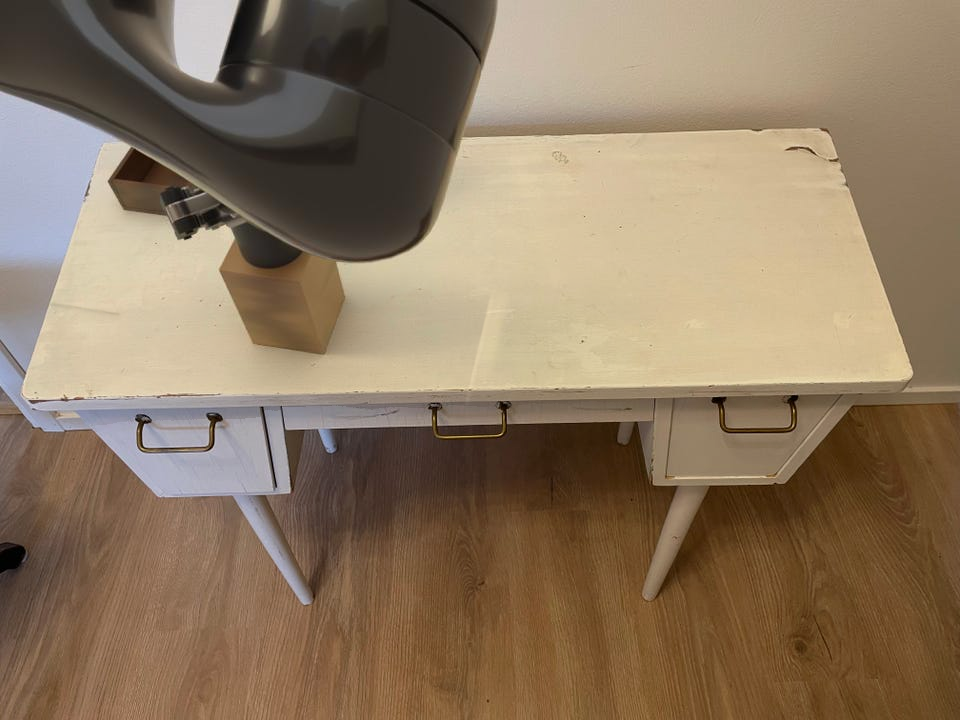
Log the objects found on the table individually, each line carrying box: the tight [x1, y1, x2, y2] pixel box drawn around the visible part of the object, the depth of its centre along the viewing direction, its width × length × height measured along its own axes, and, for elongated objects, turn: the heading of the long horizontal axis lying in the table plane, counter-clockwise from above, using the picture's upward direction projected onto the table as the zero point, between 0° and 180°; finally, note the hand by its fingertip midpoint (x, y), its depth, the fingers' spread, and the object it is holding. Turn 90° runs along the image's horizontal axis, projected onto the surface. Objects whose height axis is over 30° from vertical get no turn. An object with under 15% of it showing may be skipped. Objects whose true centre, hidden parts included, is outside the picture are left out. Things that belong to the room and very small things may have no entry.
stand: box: [218, 238, 346, 355], centre depth 75 cm, size 8×8×12 cm
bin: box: [107, 146, 198, 216], centre depth 90 cm, size 10×10×5 cm
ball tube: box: [230, 223, 302, 269], centre depth 66 cm, size 6×6×10 cm
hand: (272, 190), depth 52 cm, fingers open, 8 cm apart
